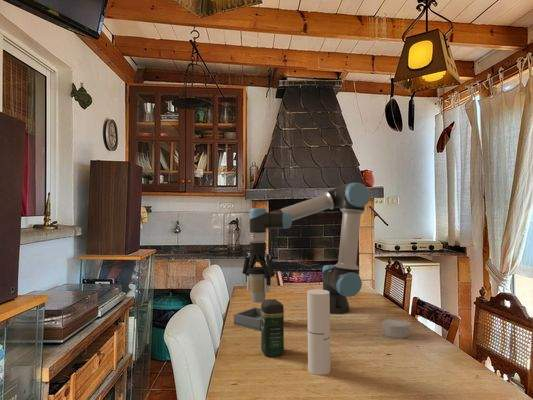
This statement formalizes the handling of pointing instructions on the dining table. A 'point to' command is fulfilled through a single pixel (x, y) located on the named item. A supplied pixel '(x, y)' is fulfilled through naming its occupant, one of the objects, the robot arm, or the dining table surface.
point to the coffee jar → (272, 327)
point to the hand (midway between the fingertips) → (258, 291)
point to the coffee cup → (257, 284)
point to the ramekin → (396, 328)
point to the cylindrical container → (318, 331)
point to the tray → (249, 318)
